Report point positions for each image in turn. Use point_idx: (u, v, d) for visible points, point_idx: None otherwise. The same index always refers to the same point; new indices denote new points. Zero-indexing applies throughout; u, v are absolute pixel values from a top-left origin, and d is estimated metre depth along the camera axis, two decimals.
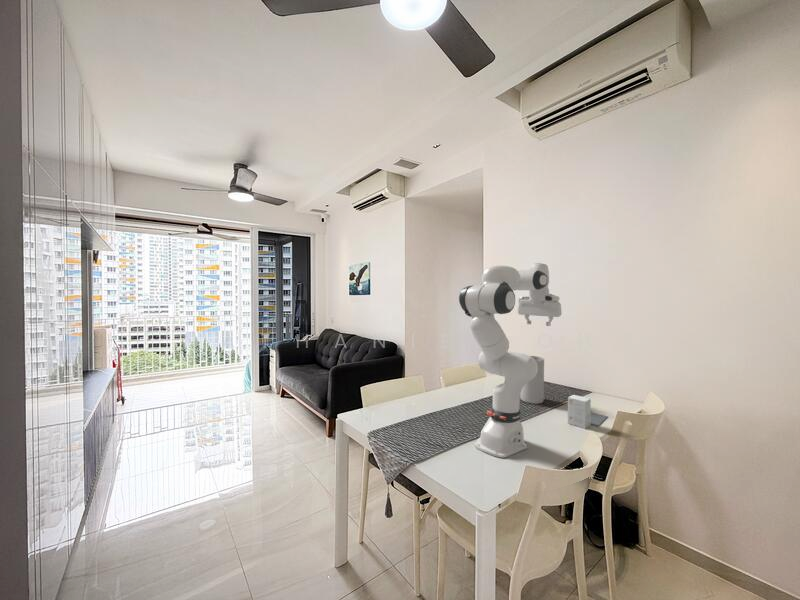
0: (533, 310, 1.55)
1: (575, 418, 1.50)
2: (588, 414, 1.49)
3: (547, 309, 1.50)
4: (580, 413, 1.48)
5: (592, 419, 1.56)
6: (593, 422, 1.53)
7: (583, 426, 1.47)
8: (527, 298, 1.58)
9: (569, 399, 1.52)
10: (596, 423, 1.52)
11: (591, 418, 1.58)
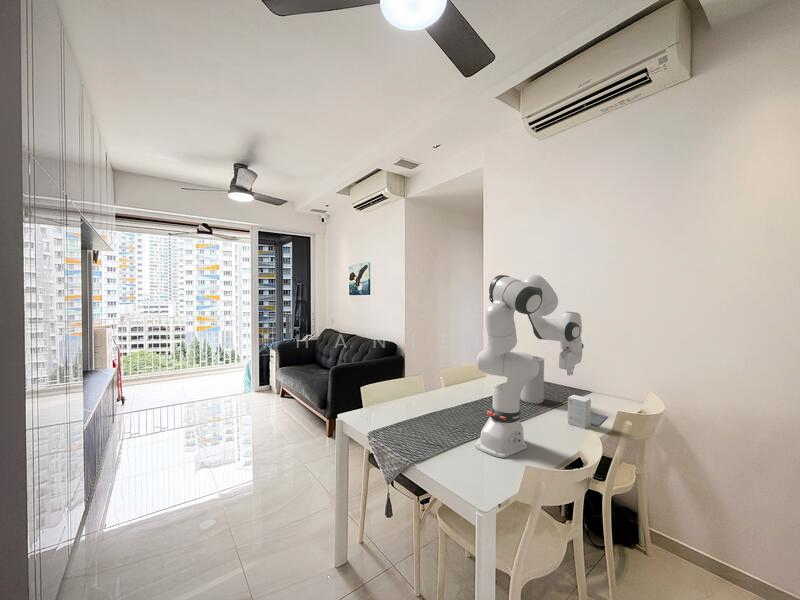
0: (573, 361, 1.45)
1: (575, 418, 1.50)
2: (588, 414, 1.49)
3: (577, 357, 1.50)
4: (580, 413, 1.48)
5: (592, 419, 1.56)
6: (593, 422, 1.53)
7: (583, 426, 1.47)
8: (567, 349, 1.44)
9: (569, 399, 1.52)
10: (596, 423, 1.52)
11: (591, 418, 1.58)
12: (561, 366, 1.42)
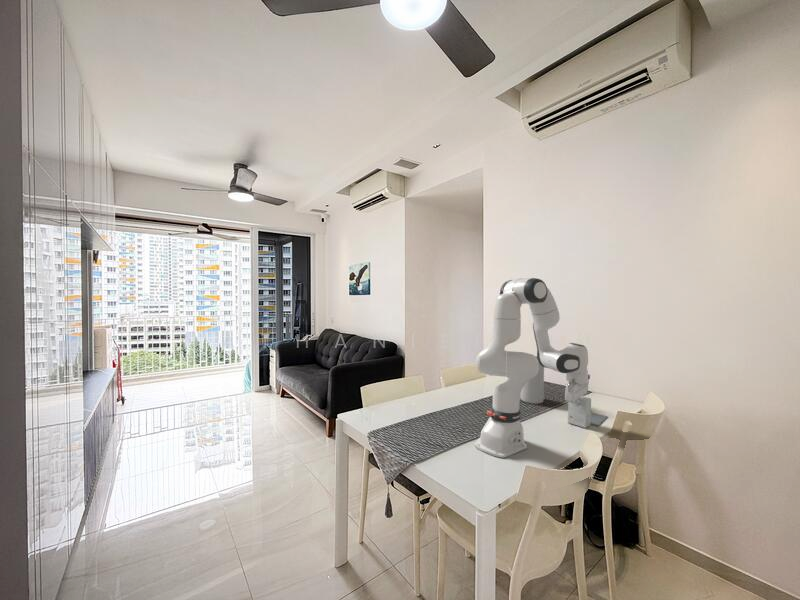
0: (579, 393, 1.46)
1: (575, 418, 1.50)
2: (588, 414, 1.49)
3: (584, 388, 1.50)
4: (581, 412, 1.48)
5: (592, 419, 1.56)
6: (593, 422, 1.53)
7: (583, 425, 1.47)
8: (573, 382, 1.44)
9: None
10: (596, 423, 1.52)
11: (591, 418, 1.58)
12: (567, 399, 1.42)
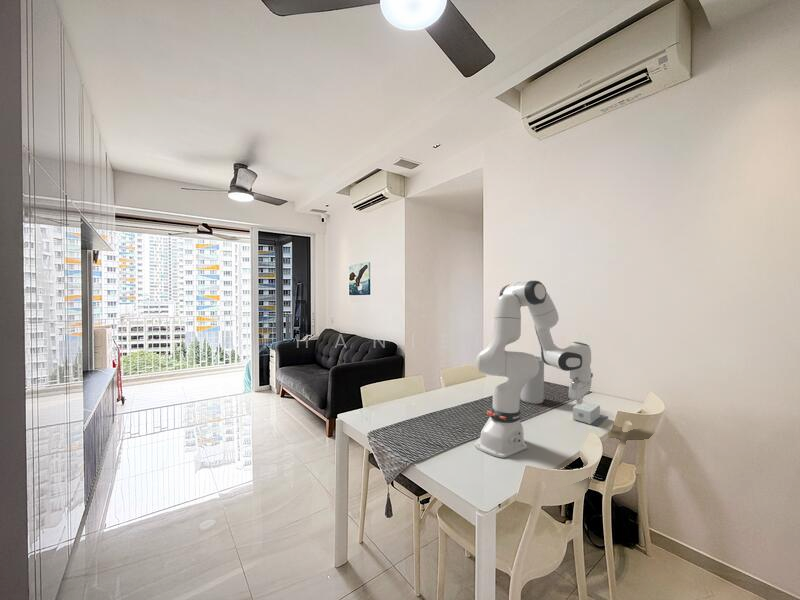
0: (582, 390, 1.49)
1: (583, 407, 1.56)
2: (595, 415, 1.55)
3: (587, 386, 1.54)
4: (590, 407, 1.56)
5: None
6: (593, 422, 1.53)
7: (589, 410, 1.52)
8: (577, 380, 1.47)
9: (583, 401, 1.64)
10: (596, 423, 1.52)
11: None
12: (571, 396, 1.45)
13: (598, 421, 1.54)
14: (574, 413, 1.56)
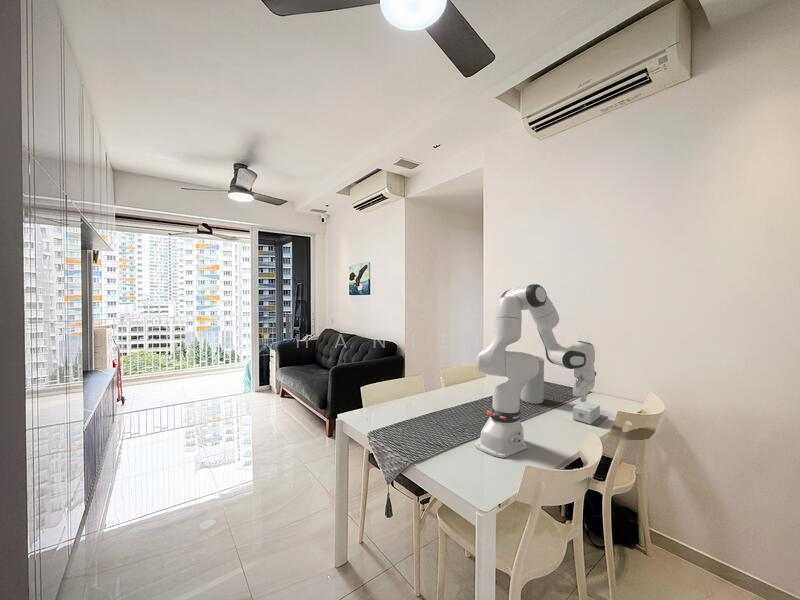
0: (586, 388, 1.53)
1: (583, 407, 1.56)
2: (595, 415, 1.55)
3: (590, 384, 1.57)
4: (590, 407, 1.56)
5: None
6: (593, 422, 1.53)
7: (589, 410, 1.52)
8: (581, 378, 1.51)
9: None
10: (596, 423, 1.52)
11: None
12: (575, 394, 1.49)
13: (598, 421, 1.54)
14: (574, 413, 1.56)
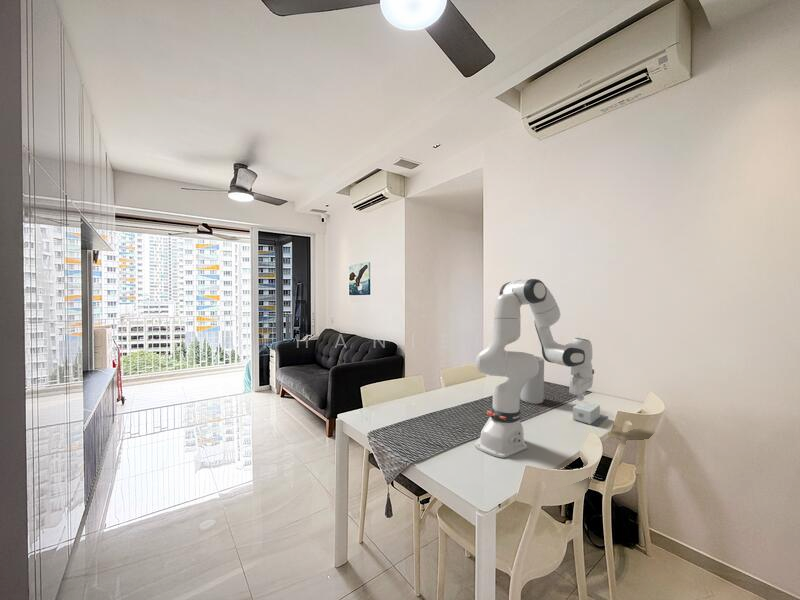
0: (583, 386, 1.49)
1: (583, 407, 1.56)
2: (595, 415, 1.55)
3: (588, 383, 1.53)
4: (590, 407, 1.56)
5: None
6: (593, 422, 1.53)
7: (589, 410, 1.52)
8: (578, 375, 1.47)
9: (583, 401, 1.64)
10: (596, 423, 1.52)
11: None
12: (572, 392, 1.45)
13: (598, 421, 1.54)
14: (574, 413, 1.56)
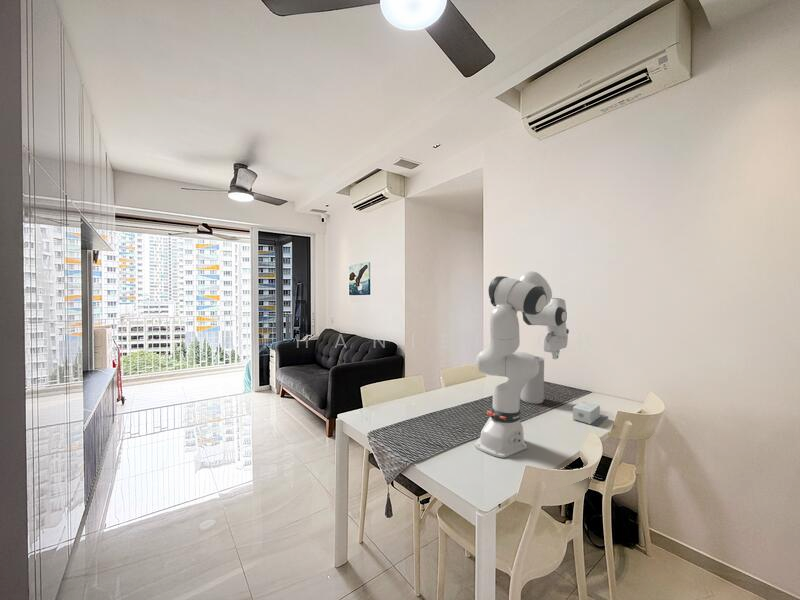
0: (558, 345, 1.52)
1: (583, 407, 1.56)
2: (595, 415, 1.55)
3: (563, 342, 1.57)
4: (590, 407, 1.56)
5: None
6: (593, 422, 1.53)
7: (589, 410, 1.52)
8: (552, 334, 1.51)
9: (583, 401, 1.64)
10: (596, 423, 1.52)
11: None
12: (546, 349, 1.49)
13: (598, 421, 1.54)
14: (574, 413, 1.56)
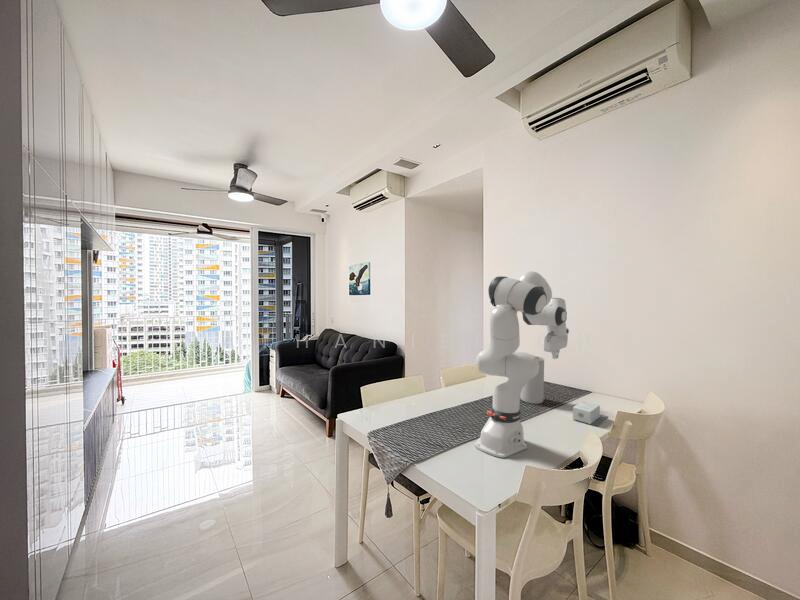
0: (558, 344, 1.52)
1: (583, 407, 1.56)
2: (595, 415, 1.55)
3: (563, 342, 1.57)
4: (590, 407, 1.56)
5: None
6: (593, 422, 1.53)
7: (589, 410, 1.52)
8: (552, 333, 1.51)
9: (583, 401, 1.64)
10: (596, 423, 1.52)
11: None
12: (546, 349, 1.49)
13: (598, 421, 1.54)
14: (574, 413, 1.56)
